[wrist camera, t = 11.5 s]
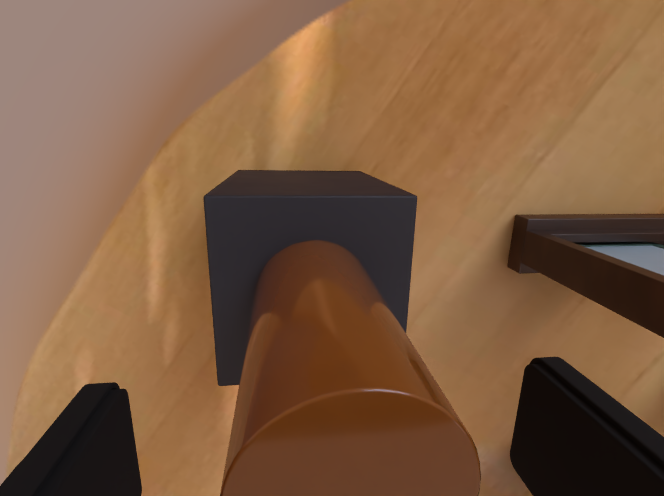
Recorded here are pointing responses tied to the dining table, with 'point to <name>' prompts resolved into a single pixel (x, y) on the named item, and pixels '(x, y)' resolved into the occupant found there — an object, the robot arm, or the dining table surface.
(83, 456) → the robot arm
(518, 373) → the dining table surface
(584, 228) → the window frame
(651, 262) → the pane
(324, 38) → the dining table surface
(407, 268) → the stand
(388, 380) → the orange-brown cylinder
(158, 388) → the dining table surface
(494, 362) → the dining table surface
